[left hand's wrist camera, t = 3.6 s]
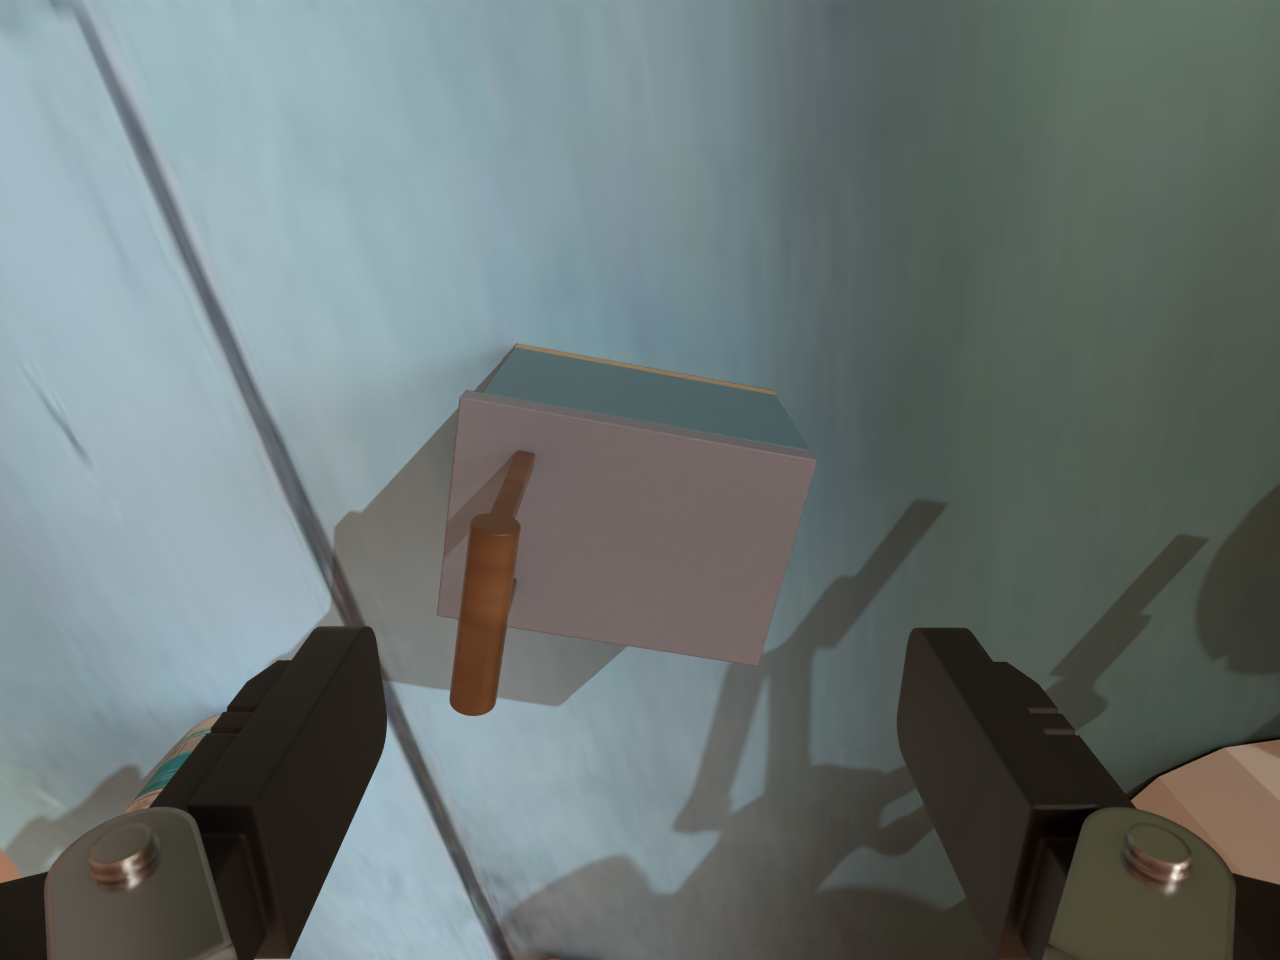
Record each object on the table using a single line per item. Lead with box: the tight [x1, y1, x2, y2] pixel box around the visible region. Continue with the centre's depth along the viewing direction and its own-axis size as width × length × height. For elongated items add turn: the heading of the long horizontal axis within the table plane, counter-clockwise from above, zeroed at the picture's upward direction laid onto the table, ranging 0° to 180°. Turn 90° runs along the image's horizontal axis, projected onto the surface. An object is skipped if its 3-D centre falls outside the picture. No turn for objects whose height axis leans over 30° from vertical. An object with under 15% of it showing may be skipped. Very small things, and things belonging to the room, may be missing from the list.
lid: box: [437, 390, 817, 716], centre depth 27 cm, size 14×9×8 cm
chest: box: [482, 344, 811, 451], centre depth 35 cm, size 13×9×9 cm
